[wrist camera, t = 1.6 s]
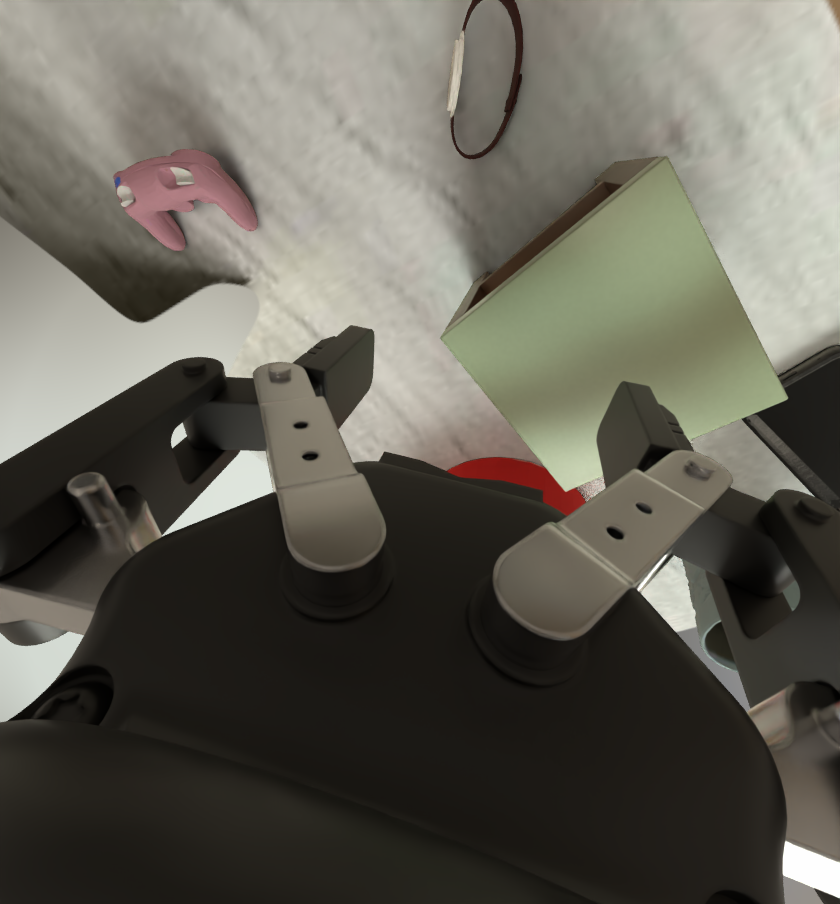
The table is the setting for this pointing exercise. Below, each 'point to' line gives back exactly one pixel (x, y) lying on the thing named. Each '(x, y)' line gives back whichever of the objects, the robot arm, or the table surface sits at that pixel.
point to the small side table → (612, 322)
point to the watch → (456, 72)
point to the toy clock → (522, 479)
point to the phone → (807, 425)
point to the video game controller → (179, 193)
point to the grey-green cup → (709, 618)
